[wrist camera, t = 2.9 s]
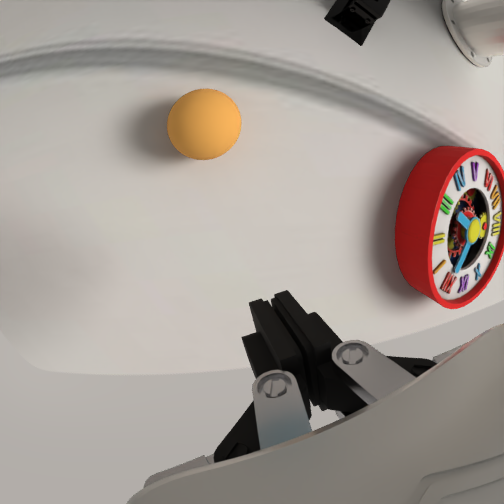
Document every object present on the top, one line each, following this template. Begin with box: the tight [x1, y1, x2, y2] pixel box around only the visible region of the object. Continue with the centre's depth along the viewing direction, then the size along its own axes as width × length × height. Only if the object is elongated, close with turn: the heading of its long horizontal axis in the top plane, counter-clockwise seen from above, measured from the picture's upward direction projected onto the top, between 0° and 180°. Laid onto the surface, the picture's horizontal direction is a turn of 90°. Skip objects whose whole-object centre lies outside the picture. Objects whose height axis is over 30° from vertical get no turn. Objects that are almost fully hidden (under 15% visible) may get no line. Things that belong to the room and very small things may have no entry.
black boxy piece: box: [324, 0, 390, 46], centre depth 20 cm, size 12×7×5 cm, turn 151°
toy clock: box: [395, 146, 504, 309], centre depth 29 cm, size 20×6×20 cm
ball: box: [167, 89, 241, 160], centre depth 20 cm, size 6×6×6 cm
